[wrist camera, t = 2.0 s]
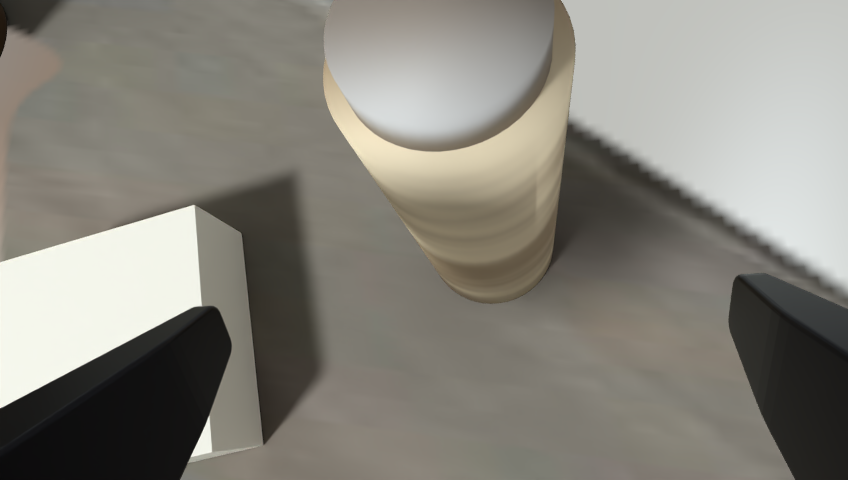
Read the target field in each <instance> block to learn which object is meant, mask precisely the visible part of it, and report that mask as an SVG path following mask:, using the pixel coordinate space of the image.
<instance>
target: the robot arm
mask: <svg viewBox="0 0 848 480" xmlns="http://www.w3.org/2000/svg"><path fill="white" fill-rule="evenodd" d="M729 329H730V332H731V335H732V338H733V341H734V343H735V346H736V349H737V351H738V354H739V357H740V359H741V362H742V365H743V367H744V370H745V373H746V375H747V378H748V381H749V383H750V386H751V389H752V391H753V394H754V397H755V399H756V402H757V404H758V407H759V409H760V412H761V414H762V416H763V418H764V420H765V422H766V424H767V427H768V429H769V431H770V432H771V434H772V436H773V438H774V440H775V442H776V444H777V446H778V448H779V450H780V452H781V454H782V455H783V457H784V459H785V461H786V463H787V465H788V467H789V469H790V471H791V473H792V475H793V476H794V478H795V480H848V309H846V308H844V307H842V306H839V305H837V304H835V303H833V302H830V301H828V300H826V299H823V298H821V297H819V296H817V295H814V294H812V293H810V292H807V291H805V290H803V289H801V288H798V287H796V286H794V285H791V284H789V283H787V282H784V281H782V280H780V279H778V278H775V277H773V276H771V275H768V274H765V273H756V274H741V275H738V276H737V277H736V278H735V280H734V282H733V287H732V295H731V302H730V310H729ZM231 351H232V342H231V338H230V336H229V333H228V330H227V328H226V325H225V323H224V320H223V318H222V315H221V313H220V311H219V309H218V308H217V307H215V306H196V307H192V308H190V309H188V310H186V311H185V312H183V313H181V314H179V315H177V316H175V317H173V318H171V319H169V320H167V321H166V322H164V323H162V324H160V325H158V326H156V327H154V328H152V329H150V330H148V331H147V332H145V333H143V334H141V335H139V336H137V337H135V338H133V339H131V340H129V341H127V342H126V343H124V344H122V345H120V346H118V347H116V348H114V349H112V350H110V351H108V352H107V353H105V354H103V355H101V356H99V357H97V358H95V359H93V360H91V361H89V362H87V363H86V364H84V365H82V366H80V367H78V368H76V369H74V370H72V371H70V372H68V373H67V374H65V375H63V376H61V377H59V378H57V379H55V380H53V381H51V382H49V383H48V384H46V385H44V386H42V387H40V388H38V389H36V390H34V391H32V392H30V393H28V394H27V395H25V396H23V397H21V398H19V399H17V400H15V401H13V402H11V403H9V404H8V405H6V406H4V407H2V408H0V480H180V479H181V477H182V474H183V472H184V470H185V468H186V466H187V464H188V462H189V460H190V457H191V455H192V453H193V451H194V449H195V447H196V445H197V443H198V440H199V438H200V436H201V434H202V432H203V429H204V427H205V425H206V422H207V420H208V417H209V415H210V412H211V409H212V406H213V404H214V401H215V398H216V395H217V392H218V389H219V387H220V384H221V381H222V378H223V375H224V372H225V369H226V367H227V364H228V361H229V358H230V355H231Z"/></svg>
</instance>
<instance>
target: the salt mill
mask: <svg viewBox="0 0 848 480" xmlns="http://www.w3.org/2000/svg"><path fill="white" fill-rule="evenodd" d="M324 50H325V57H326V58H325V63H324V73H323V83H324V93H325V97H326V101H327V105H328V108H329V110H330V112H331V115H332V117H333V119H334V121H335V122H336V124H337V125H338V127H339V129H340V130H341V132H342V133H343V135H344V136H345V138H346V139H347V140H348V142H349V143H350V145H351V146H352V148H353V149H354V151H355V152H356V154H357V155H358V157H359V158H360V159H361V161H362V162H363V164H364V165H365V167H366V168H367V170H368V171H369V173H370V174H371V176H372V177H373V178H374V180H375V181H376V183H377V184H378V186H379V187H380V189H381V190H382V192H383V193H384V195H385V196H386V197H387V199H388V200H389V202H390V203H391V205H392V206H393V208H394V209H395V211H396V212H397V213H398V215H399V216H400V218H401V219H402V221H403V222H404V224H405V225H406V227H407V228H408V230H409V231H410V232H411V234H412V235H413V237H414V238H415V240H416V241H417V243H418V244H419V246H420V247H421V249H422V250H423V251H424V253H425V254H426V256H427V257H428V259H429V260H430V262H431V263H432V265H433V266H434V268H435V269H436V270H437V272H438V273H439V275H440V276H441V278H442V279H443V280H444V282H445V283H446V284H447V285H448V286H449V287H450V288H451V289H452V290H453V291H455V292H456V293H458V294H459V295H461V296H463V297H465V298H467V299H469V300H472V301H475V302H480V303H489V304H493V303H503V302H508V301H511V300H514V299H516V298H518V297H520V296H523V295H524V294H526V293H527V292H529V291H530V290H531V289H532V288H534V287H535V286H536V285H537V284H538V282H539V281H540V280H541V279H542V277H543V276H544V275H545V273H546V271H547V269H548V267H549V264H550V261H551V258H552V253H553V245H554V236H555V228H556V219H557V210H558V202H559V193H560V185H561V176H562V167H563V159H564V150H565V142H566V133H567V124H568V116H569V107H570V97H571V89H572V81H573V73H574V63H575V37H574V30H573V27H572V24H571V20H570V17H569V15H568V13H567V11H566V9H565V7H564V5H563V3H562V1H561V0H334V1H333V3H332V5H331V7H330V10H329V13H328V16H327V19H326V24H325V29H324Z"/></svg>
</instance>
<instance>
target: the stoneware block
mask: <svg viewBox="0 0 848 480" xmlns="http://www.w3.org/2000/svg"><path fill="white" fill-rule="evenodd" d="M196 306H215V307H217V308H218V309H219V311H220V313H221V315H222V318H223V320H224V323H225V325H226V328H227V330H228V333H229V336H230V338H231V342H232V351H231V355H230V358H229V361H228V364H227V367H226V369H225V372H224V375H223V378H222V381H221V384H220V387H219V389H218V392H217V395H216V398H215V401H214V404H213V406H212V409H211V412H210V415H209V417H208V420H207V422H206V425H205V427H204V429H203V432H202V434H201V436H200V438H199V440H198V443H197V445H196V447H195V449H194V451H193V453H192V455H191V457H190V460H189V462H188V463H191V462H195V461H199V460H204V459H208V458H212V457H216V456H221V455H225V454H229V453H233V452H238V451H242V450H246V449H250V448H255V447H259V446H263V437H262V427H261V418H260V408H259V398H258V388H257V378H256V369H255V359H254V349H253V339H252V330H251V320H250V310H249V300H248V291H247V281H246V271H245V261H244V252H243V242H242V233H240V232H239V231H237V230H235V229H234V228H232V227H230V226H229V225H227V224H226V223H224V222H222V221H221V220H219V219H217V218H216V217H214V216H212V215H211V214H209V213H207V212H206V211H204V210H202V209H201V208H199V207H197V206H196V205H192V206H189V207H185V208H182V209H179V210H175V211H172V212H168V213H165V214H162V215H158V216H155V217H152V218H148V219H145V220H141V221H138V222H135V223H131V224H128V225H125V226H121V227H118V228H115V229H111V230H108V231H104V232H101V233H98V234H94V235H91V236H88V237H84V238H81V239H77V240H74V241H71V242H67V243H64V244H61V245H57V246H54V247H50V248H47V249H44V250H40V251H37V252H34V253H30V254H27V255H23V256H20V257H17V258H13V259H10V260H7V261H3V262H0V408H2V407H4V406H6V405H8V404H9V403H11V402H13V401H15V400H17V399H19V398H21V397H23V396H25V395H27V394H28V393H30V392H32V391H34V390H36V389H38V388H40V387H42V386H44V385H46V384H48V383H49V382H51V381H53V380H55V379H57V378H59V377H61V376H63V375H65V374H67V373H68V372H70V371H72V370H74V369H76V368H78V367H80V366H82V365H84V364H86V363H87V362H89V361H91V360H93V359H95V358H97V357H99V356H101V355H103V354H105V353H107V352H108V351H110V350H112V349H114V348H116V347H118V346H120V345H122V344H124V343H126V342H127V341H129V340H131V339H133V338H135V337H137V336H139V335H141V334H143V333H145V332H147V331H148V330H150V329H152V328H154V327H156V326H158V325H160V324H162V323H164V322H166V321H167V320H169V319H171V318H173V317H175V316H177V315H179V314H181V313H183V312H185V311H186V310H188V309H190V308H192V307H196Z"/></svg>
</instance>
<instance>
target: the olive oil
mask: <svg viewBox="0 0 848 480" xmlns="http://www.w3.org/2000/svg"><path fill="white" fill-rule="evenodd" d="M6 36H7V21H6V15H5V12H4V9H3V7H2V5H1V4H0V56H1V54H2V51H3V49H4V45H5V41H6Z"/></svg>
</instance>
